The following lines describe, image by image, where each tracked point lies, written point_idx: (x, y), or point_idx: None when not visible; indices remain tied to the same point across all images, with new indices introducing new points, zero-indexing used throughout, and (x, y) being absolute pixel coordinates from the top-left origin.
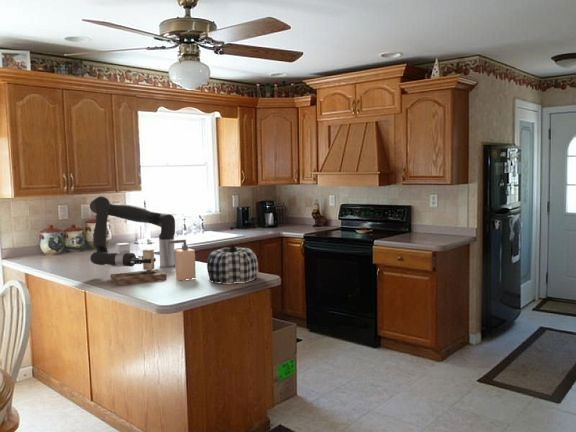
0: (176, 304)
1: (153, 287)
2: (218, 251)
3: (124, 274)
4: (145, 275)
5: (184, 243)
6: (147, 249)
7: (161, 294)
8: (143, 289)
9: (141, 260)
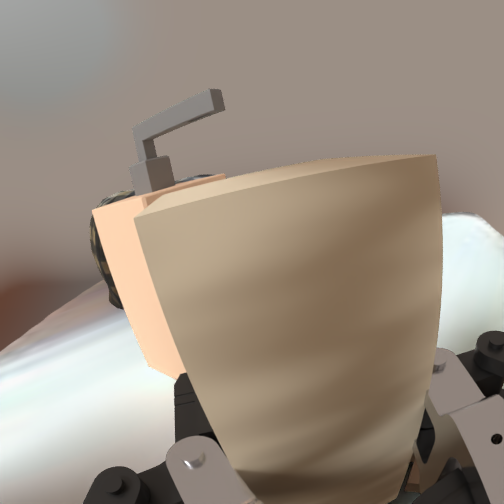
0: (449, 213)
1: (447, 313)
2: (189, 177)
3: None
4: None
5: (152, 146)
6: (239, 182)
7: (453, 250)
8: (495, 306)
9: (481, 348)
